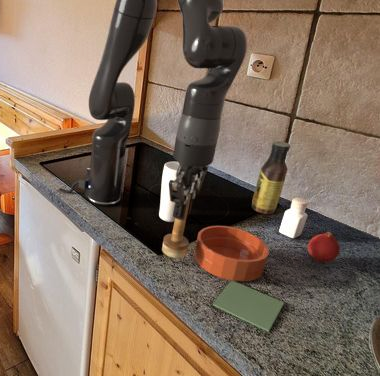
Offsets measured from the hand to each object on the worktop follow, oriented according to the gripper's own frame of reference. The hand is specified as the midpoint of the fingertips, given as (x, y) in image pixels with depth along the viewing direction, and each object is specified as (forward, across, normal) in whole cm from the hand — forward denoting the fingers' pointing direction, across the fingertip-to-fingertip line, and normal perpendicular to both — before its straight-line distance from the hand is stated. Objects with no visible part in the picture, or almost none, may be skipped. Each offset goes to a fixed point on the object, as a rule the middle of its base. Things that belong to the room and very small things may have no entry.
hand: (181, 215), depth 85 cm
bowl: (+12, -8, +9) cm, 17 cm away
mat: (+12, +3, +17) cm, 21 cm away
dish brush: (+9, 0, 0) cm, 9 cm away
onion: (+12, -23, +24) cm, 35 cm away
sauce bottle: (+12, -41, +7) cm, 43 cm away
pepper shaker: (+12, -32, +16) cm, 38 cm away
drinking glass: (+12, -18, -10) cm, 24 cm away
